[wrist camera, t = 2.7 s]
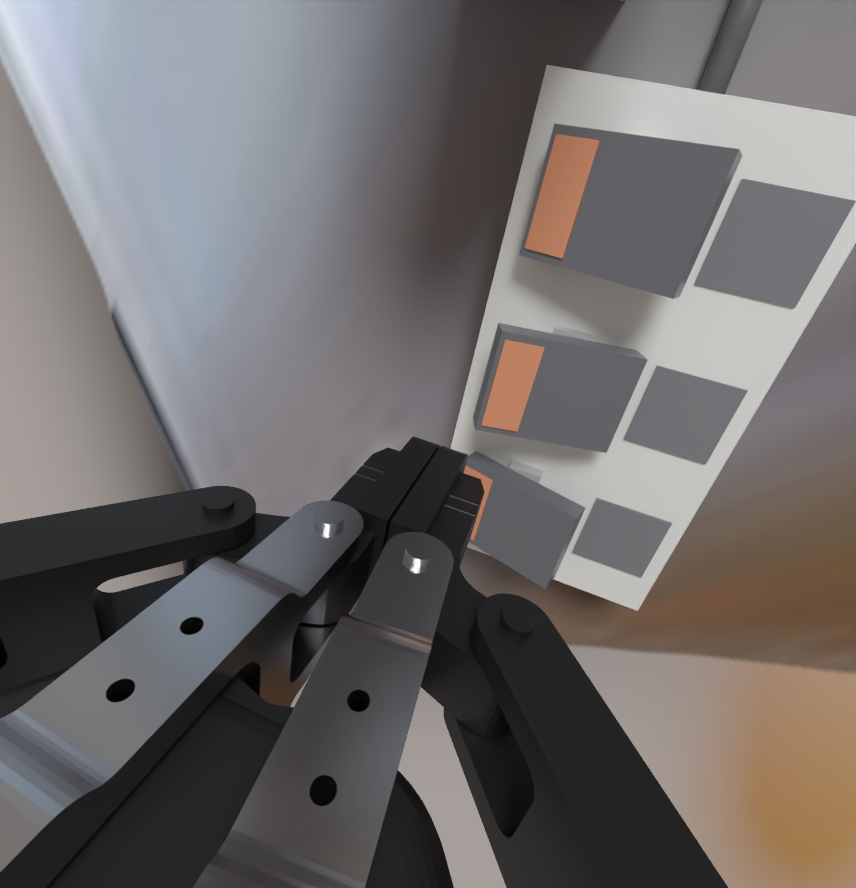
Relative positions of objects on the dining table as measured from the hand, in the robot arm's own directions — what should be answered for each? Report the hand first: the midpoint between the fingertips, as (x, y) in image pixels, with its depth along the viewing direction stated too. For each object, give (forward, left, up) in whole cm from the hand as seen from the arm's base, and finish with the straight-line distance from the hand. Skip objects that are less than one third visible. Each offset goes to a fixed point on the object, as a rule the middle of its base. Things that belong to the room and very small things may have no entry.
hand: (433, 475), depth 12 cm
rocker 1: (-3, -7, -10) cm, 12 cm away
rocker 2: (-3, 0, -10) cm, 10 cm away
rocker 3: (-3, +7, -10) cm, 12 cm away
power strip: (-5, -3, -15) cm, 16 cm away
